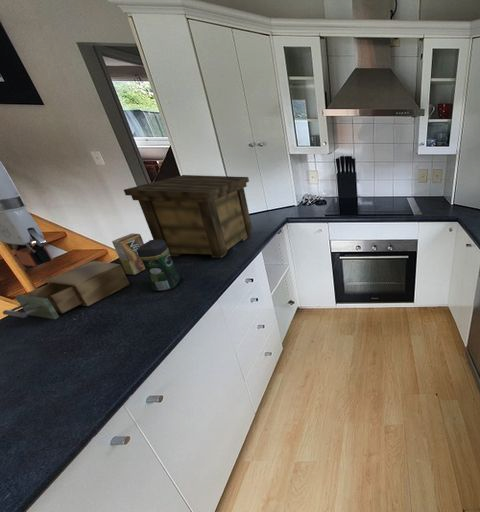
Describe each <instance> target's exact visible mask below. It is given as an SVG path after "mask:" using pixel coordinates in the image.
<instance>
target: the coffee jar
mask: <svg viewBox="0 0 480 512" xmlns="http://www.w3.org/2000/svg"><path fill="white" fill-rule="evenodd" d="M137 253H138V256H139V258H140V259H141V261H142V262H143V264H144V267H145V269H144V270H145V272H146V275H147V277H148V280H149V283H150V287H151V288H152V290H153V291H156V292H166V291H168V290H171V289H173V288H175V287H176V286H177V285H178V284H179V282H180V279H181V277H180V276H179V273H178V271H177V268H176V266H175V263H174V262H173V259H172V256H170V253H169V249H168V246H167V244H166V242H165V241H163V240H161V239H160V240H153V239H149V240H148V241H146V242H145V243H144V244H143V245H142V246H141V247H139V248H138V249H137Z"/></svg>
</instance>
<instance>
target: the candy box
mask: <svg viewBox="0 0 480 512" xmlns="http://www.w3.org/2000/svg"><path fill="white" fill-rule="evenodd" d="M111 242H112V245H113V247H114V250H115V252H116V254H117V256H118V258H119V260H120V261H119V262H120V263H121V266H122V269H123V271H124V273H125V275H132V276H135V275H137V274H139V273H140V272H143V271H145V270H146V269H145V267H144V264H143V262H142V261H141V259H140V258H139V256H138V253H137V249H138V248H139V247H141V246H142V245H143V244H145V243H144V240H143V237H142V235H141V233H133V232H132V233H129V234H127V235H124V236H122V237H119V238H116V239H114V240H112V241H111Z"/></svg>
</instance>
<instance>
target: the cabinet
mask: <svg viewBox="0 0 480 512" xmlns="http://www.w3.org/2000/svg"><path fill="white" fill-rule="evenodd" d="M126 275H127V274H126V272H125V270H124V268H123V266H122V263H121V264H120V263H113V262H106V261H99V260H93V261H90V262H87V263H85V264H82V265H79V266H78V267H75V268H73V269H70V270H67V271H64V272H62V273H59V274H58V275H54V276H52V277H49V278H47V279H45V282H46V283H47V284H50V283H58V284H65V285H72V286H75V287H76V289H77V291H78V293H79V294H80V296H81V298H82V300H83V301H84V303H82V304H80V305H79V306H84V307H89V306H92V305H93V304H95V303H96V302H99V301H101V300H103V299H105V298H107V297H108V296H111V295H112V294H114V293H116V292H118V291H120V290H122V289H124V288H127V287H128V286H130V285H131V284H130V282H129V280H128V277H127V276H126Z"/></svg>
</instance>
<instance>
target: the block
mask: <svg viewBox="0 0 480 512" xmlns="http://www.w3.org/2000/svg"><path fill="white" fill-rule="evenodd" d="M32 246H33V247H34V245H32ZM45 248H46V249H45V250H46V251H47V253H48V255H49V257H50V258H51V261H53V260H54V259H53V257H52V255H51V254H50V252H49V250H48V248H47V247H46V246H45ZM14 253H15V255H16V257H17V258H18V259H19V261H20V262H21V264H22V265H24V266H29V267H30V266H31V267H35V266H39V265H38V264H36V262H35V261H34V259H33V257H32V256H31V254H30V253H32V252H31V251H30V250H29V248H28V247H27V248H24V249H21V250H17V251H15V250H14Z"/></svg>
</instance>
